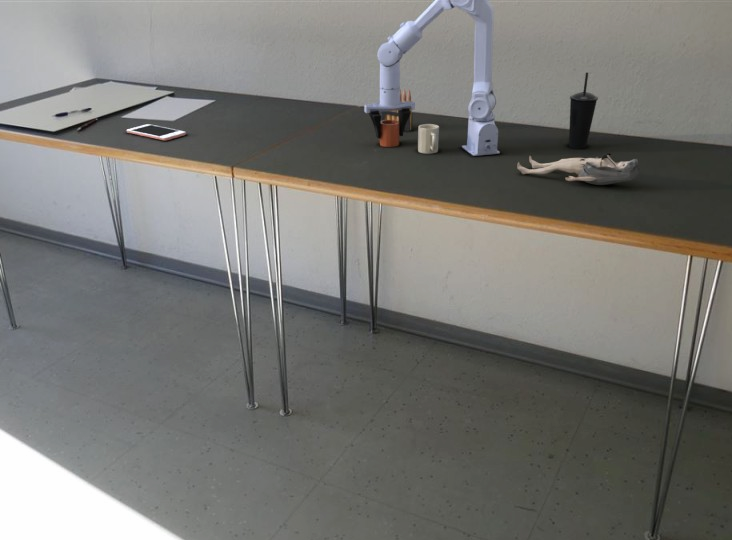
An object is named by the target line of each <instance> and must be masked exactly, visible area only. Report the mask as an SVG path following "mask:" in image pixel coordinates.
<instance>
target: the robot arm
mask: <svg viewBox="0 0 732 540" xmlns="http://www.w3.org/2000/svg"><path fill="white" fill-rule="evenodd" d="M454 8H456V9H458V10H461V11H463V12H466V14H468V15H469V16H470V17H471V18H472V20H474V53H473V55H474V56H473V85H472V91H471V99H470V101H469V103H468V108H467V109H468V119H467V121H468V122H467V136H466V139H467V140H466V145H465V144H464V145H461V148H462V149H463V150H465V151H466V152H468V153H469V154H470V155H471V156H473V157H478V156H479V157H480V156H488V155H499V154H500V153H501V151H499V150H498V142H499V128H498V127H497V125H496V124H495V118H496V115H495V114H494V112H493V110H494V109H495V107H496V106H497V98H496V95H495V93H494V84H493V58H494V57H493V55H494V54H493V53H494V20H495V11H494V7H493V5H492V3H491V2H490V0H434V1H433V2H432V3H431V4H430V5H429V6H428V7H427V8H426V9H425V10H424V11H423V12H422V13H421V14H420V15H419V16H418V17H417V18H416V19H415V20H407V21H406V22H405V21H403V22H402V23H400V25H399V27H400V28H399V29H398V30H397V31H396V32H395V33H394V34H393V35H390V36H388V37H387V41H386V42H384V43H382V44H381V45H380V47H379V48H378V50H377V53H376V54H377V55H376V56H377V60H378V62H379V102H375V103H370V104H364V106H363V107H364V109H363V111H364V113H365V114H368V116H369V117H370V119H371V122H372V124H373V128H374V131H375V137H376V138H377V139H380V136H381V133H380V123H381V118H382V114H381V113H382V111H395V110H398V117H399V122H400V129H399V137H403V136H404V132H405V131H404V129H405V125H406V123H407V121H408V119H409V117H410V115H411V111H410V109H411V110H412V111H414V110H416V102H415V101H413V100H411V101H408V102H407V101H406V102H400V90H401V60H402V58H403V55H405V54H407V52H409V51H410V49H412V48H413V47H414V46H415V45H416V44H417V43H419V41H420V40H421V39H422V37H423V30H425V29H426V28H427V27H428V26H429V25H430V24H431V23H432V22H433V21H434V20H436V19H437V18H438V17H439V16H440V15H441V14H442V13H443V12H444V11H449V10H452V9H454ZM380 112H381V113H380Z"/></svg>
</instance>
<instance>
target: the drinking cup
mask: <svg viewBox="0 0 732 540" xmlns="http://www.w3.org/2000/svg"><path fill="white" fill-rule="evenodd" d="M588 78H589V72H585V77H584V85H583V91H579V92H576V93H574V94H570V95H569V100H570V104H569V106H570V107H569V128H568V129H569V131H568V132H569V134H568V138H569V139H568V147H569V148H571V149H585V148H587V145H588V141H589V136H590V132H591V128H592V123H593V118H594V115H595V110H596V106H597V101H598V100H599V96H598V95H595V94H594V93H591V92H588V91H587V89H588V88H587V87H588Z"/></svg>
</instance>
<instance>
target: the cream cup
mask: <svg viewBox="0 0 732 540" xmlns="http://www.w3.org/2000/svg"><path fill="white" fill-rule="evenodd" d="M417 131H418V133H417V135H418V136H417V152H418V153H420V154H425V155H429V154H435V153H438V152H439V143H440V142H439V138H440V126H439V125H438V124H433V123H424V124H419V125H418V130H417Z"/></svg>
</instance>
